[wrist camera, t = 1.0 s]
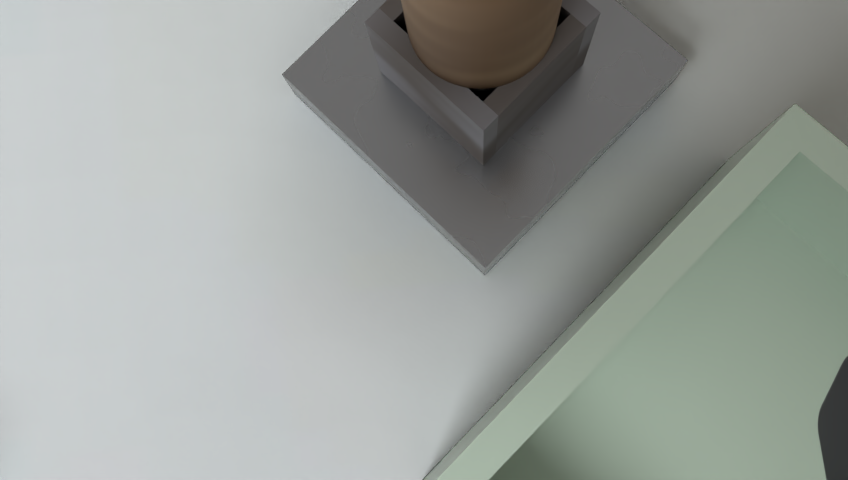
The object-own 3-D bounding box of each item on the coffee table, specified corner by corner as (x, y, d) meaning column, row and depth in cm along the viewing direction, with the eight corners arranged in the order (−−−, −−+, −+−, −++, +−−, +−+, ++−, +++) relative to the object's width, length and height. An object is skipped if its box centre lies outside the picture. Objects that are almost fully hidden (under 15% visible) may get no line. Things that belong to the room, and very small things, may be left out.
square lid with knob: (673, 80, 22) (719, 13, 18) (484, 274, 21) (486, 252, 17) (477, -85, 23) (476, -183, 19) (294, 93, 23) (253, 32, 18)
